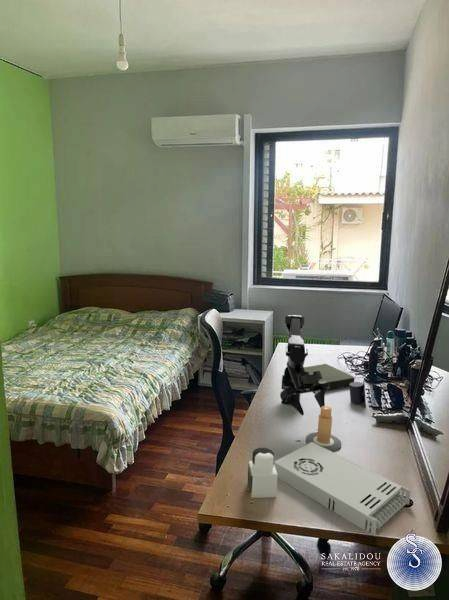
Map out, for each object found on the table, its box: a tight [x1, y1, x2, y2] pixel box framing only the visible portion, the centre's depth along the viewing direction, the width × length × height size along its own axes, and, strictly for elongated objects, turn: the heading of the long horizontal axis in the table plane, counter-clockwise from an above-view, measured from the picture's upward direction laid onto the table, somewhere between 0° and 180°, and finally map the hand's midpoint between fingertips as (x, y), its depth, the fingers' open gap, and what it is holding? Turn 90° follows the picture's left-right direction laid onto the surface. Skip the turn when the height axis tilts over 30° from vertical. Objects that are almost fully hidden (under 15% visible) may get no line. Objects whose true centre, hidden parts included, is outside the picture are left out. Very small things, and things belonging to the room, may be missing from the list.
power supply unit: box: [274, 442, 412, 537], centre depth 121 cm, size 19×33×5 cm, turn 42°
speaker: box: [349, 379, 367, 409], centre depth 180 cm, size 8×6×10 cm
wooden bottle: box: [316, 405, 333, 444], centre depth 146 cm, size 4×4×12 cm
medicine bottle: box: [247, 447, 279, 499], centre depth 119 cm, size 7×7×12 cm
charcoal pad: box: [305, 431, 342, 452], centre depth 147 cm, size 12×12×1 cm
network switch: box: [303, 363, 356, 391], centre depth 205 cm, size 23×24×5 cm
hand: (313, 412), depth 152 cm, fingers open, 9 cm apart
